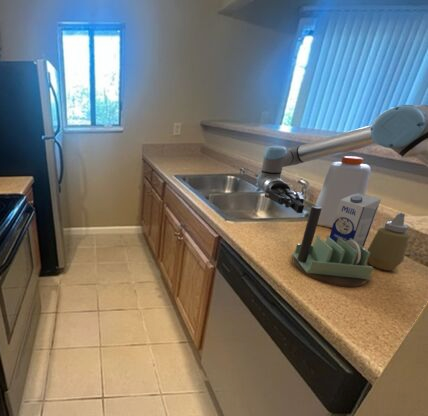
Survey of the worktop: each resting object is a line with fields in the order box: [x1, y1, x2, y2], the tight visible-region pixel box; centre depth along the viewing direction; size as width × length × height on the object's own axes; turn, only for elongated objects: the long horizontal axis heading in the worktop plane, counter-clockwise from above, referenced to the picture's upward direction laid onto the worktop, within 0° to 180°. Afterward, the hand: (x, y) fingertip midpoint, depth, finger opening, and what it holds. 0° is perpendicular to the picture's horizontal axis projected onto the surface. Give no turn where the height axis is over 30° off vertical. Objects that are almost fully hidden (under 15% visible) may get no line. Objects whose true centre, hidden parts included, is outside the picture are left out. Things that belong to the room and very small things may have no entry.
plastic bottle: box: [314, 155, 372, 229], centre depth 111 cm, size 15×15×28 cm
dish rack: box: [292, 205, 374, 280], centre depth 81 cm, size 17×11×19 cm, turn 76°
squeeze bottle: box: [366, 211, 410, 271], centre depth 83 cm, size 8×8×18 cm
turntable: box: [292, 256, 368, 288], centre depth 85 cm, size 18×18×1 cm
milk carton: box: [328, 193, 382, 248], centre depth 92 cm, size 7×7×20 cm
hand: (300, 209), depth 91 cm, fingers closed
